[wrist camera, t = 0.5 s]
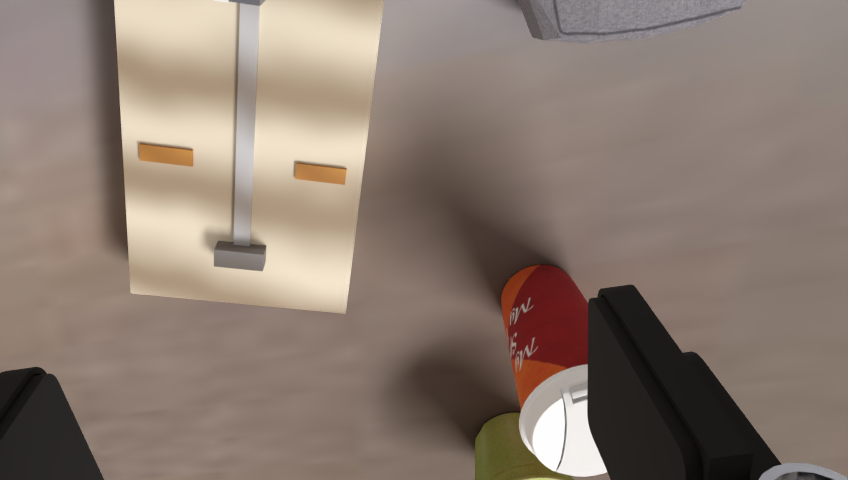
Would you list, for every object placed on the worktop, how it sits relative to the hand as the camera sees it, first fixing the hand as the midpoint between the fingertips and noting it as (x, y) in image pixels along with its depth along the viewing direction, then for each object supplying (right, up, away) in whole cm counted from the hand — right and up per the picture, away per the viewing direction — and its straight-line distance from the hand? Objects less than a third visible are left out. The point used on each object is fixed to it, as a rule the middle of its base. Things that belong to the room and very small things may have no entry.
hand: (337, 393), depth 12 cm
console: (-9, +13, +28) cm, 32 cm away
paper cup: (+10, -1, +37) cm, 38 cm away
